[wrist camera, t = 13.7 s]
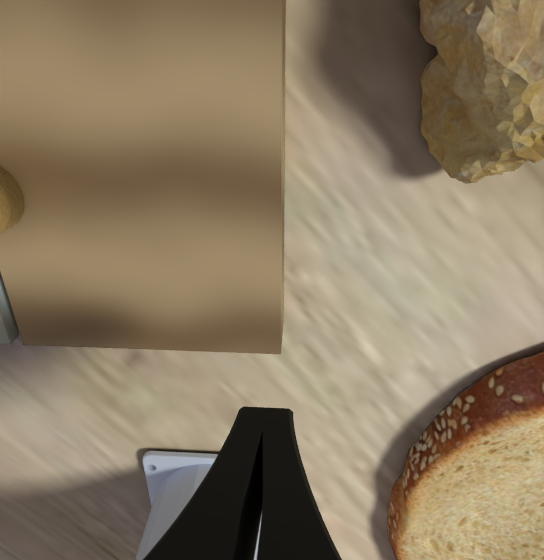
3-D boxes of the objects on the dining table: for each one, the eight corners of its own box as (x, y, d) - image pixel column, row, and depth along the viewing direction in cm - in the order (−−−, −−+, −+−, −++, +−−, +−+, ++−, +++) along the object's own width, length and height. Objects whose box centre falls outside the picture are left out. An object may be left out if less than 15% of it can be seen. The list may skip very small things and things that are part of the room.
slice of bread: (422, 591, 34) (435, 653, 30) (307, 417, 27) (307, 474, 23) (715, 529, 29) (767, 595, 25) (671, 293, 21) (736, 343, 18)
